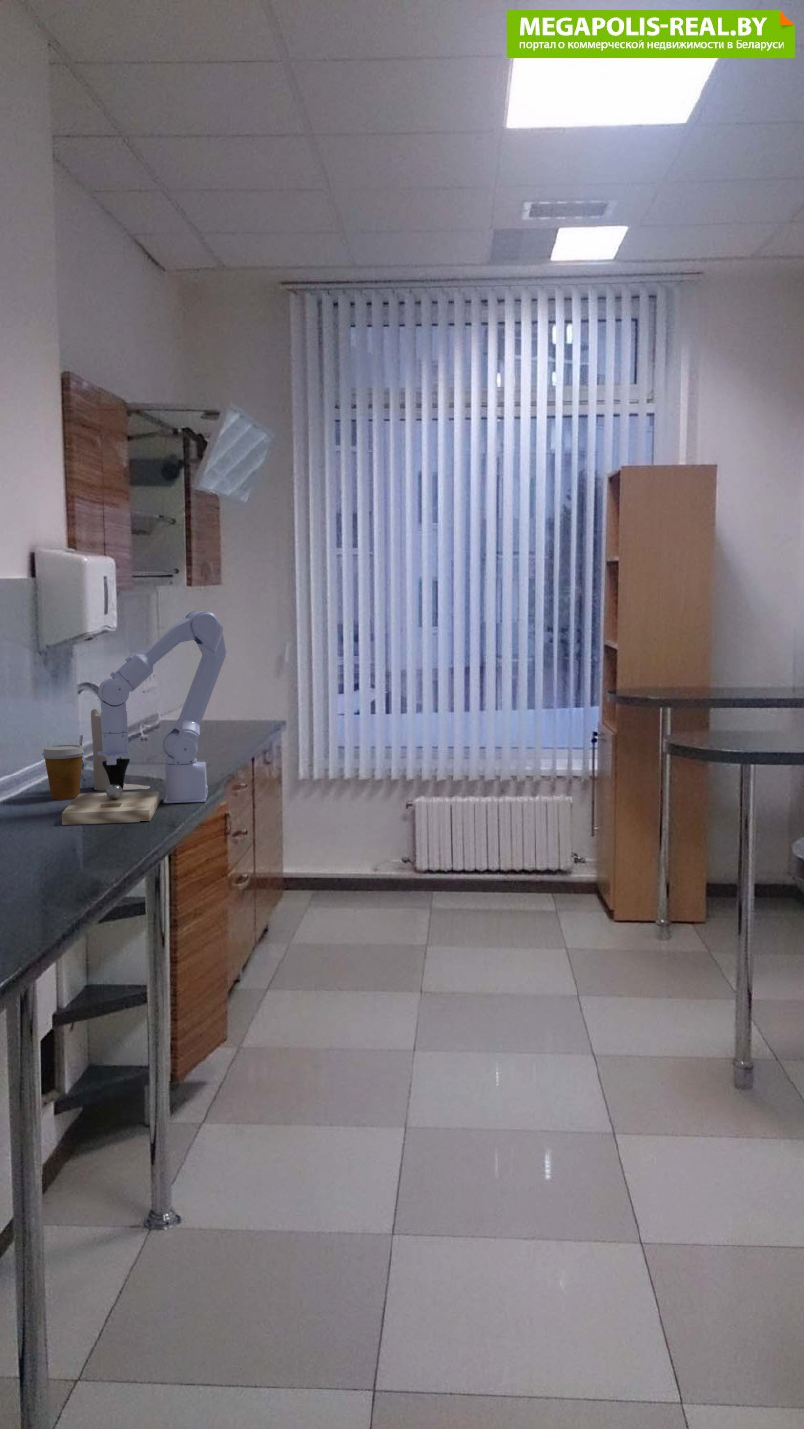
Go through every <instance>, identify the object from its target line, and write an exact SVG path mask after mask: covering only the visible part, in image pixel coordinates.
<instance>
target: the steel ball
mask: <svg viewBox="0 0 804 1429" xmlns="http://www.w3.org/2000/svg"><path fill="white" fill-rule="evenodd" d="M122 792H123V790H122V788H121V787H120V786H119V785H118V784H111V785H109V786H108V787H107V789H106V791H105V793H106V794H107V796H108V797H109V798H110V799H113V800H115V799H118V798H120V797H121V795H122Z"/></svg>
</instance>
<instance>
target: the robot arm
mask: <svg viewBox="0 0 804 1429" xmlns="http://www.w3.org/2000/svg"><path fill="white" fill-rule="evenodd" d="M190 641H194V642H196V645H197V647H198V649H199V650H200V652H201V655H202V656H201V657H200V661H199V663H198V666H197V669H196V672H195V675H194V677H193V679H192V682H191V685H190V687H189V690H188V693H187V695H186V698H185V701H184V704H183V706H182V709H181V712H180V713H179V714H180V715H179V717H178V718H177V720H176V721H175V722H174V724H173V726H172V729H171V730H170V732H169V733H167V734H166V735H165V736H164V739H163V741H162V748H163V749H162V750H163V751H164V753H165V754H166V755H167V757H166V758H165V760H164V765H165V766H164V767H165V768H164V769H165V770H164V771H165V792H166V794H165V795H166V796H165V798H164V799H163V804H175V803H176V804H178V803H179V804H180V803H181V804H182V803H204V802H205V803H206V801H207V798H208V793H209V789H208V788H209V786H208V784H207V782H208V780H207V764H206V763H207V762H205V761H198V759H197V758H196V757H197V755H198V753H199V739H200V735H201V723H202V721H203V718H204V716H205V713H206V710H207V708H208V704H209V702H210V699H211V696H212V693H213V692H214V688H215V685H216V683H217V681H218V678H219V675H220V672H221V670H222V667H223V664H224V662H225V658H226V656H227V650H226V643H225V637H224V626H223V624H222V623H221V621H220V620H219V618H218V616H217V615H216V614H215V613H213V612H211V611H205V610H204V611H201V610H192V611H190V612H188V613H187V614H186V616H185V617H183V618H181V619H179V620H178V621H177V622H176V623H174V624H173V625H172V626H171V627H170V628H169V629H168V630H167V631H166V632H165V633H164V634H163V635H162V636H161V637H160V638H159V639H158V640H157V641H155V643H153V644H152V645H151V647H150V648H149V649H147V651H145V652H144V653H143V654H134V655H133V656H130V655H129V656H127V657H126V658H125V663H124V664H123V665H121V667H119V669H117V670H116V671H115V672H114V671H112V672H111V673H109V676H110V678H107V679H104V680H102V682H101V683H100V684H99V686H98V688H97V689H98V690H97V692H96V693H97V697H98V698H99V700H100V710H101V711H100V713H101V730H102V751H99V752H97V755H102V756H103V757H105V758H106V761H103V762H102V765H103V767H104V769H105V770H106V772H107V775H108V778H109V782H110V785H111V784H118V785H119V786H120V787H121V788H122V791H124V790H123V786H124V783H125V777H126V772H127V769H128V766H129V764H130V758H124V757H127V756H130V754H131V753H130V752H131V750H130V749H129V731H128V729H129V728H128V713H127V712H128V711H127V704H126V703H127V701H128V699H129V696H130V693H131V692H132V693H133V692H134V691H135V690H136V689H137V688H138V687H139V686H140V685H141V684H143V683H144V682H145V681H146V680H147V679H148V678H150V676H151V675H152V674H153V673H154V665H155V664H156V663H157V662H159V661H160V660H161V659H163V657H166V655H167V654H168V653H169V652H171V651H172V650H173V649H174V648H176V647H177V646H178V645H179V644H180V643H186V642H190ZM121 757H123V759H122V758H121Z"/></svg>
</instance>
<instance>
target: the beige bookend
mask: <svg viewBox="0 0 804 1429" xmlns="http://www.w3.org/2000/svg"><path fill="white" fill-rule="evenodd" d="M90 722H91V723H90V728H91V739H92V758H93V760H92V762H93V764H92V765H93V766H92V769H93V770H92V771H93V785H94V786H93V788H94V790H95V791H100V792H101V791H105V792H106V789H107V787H108V786H109V785H110V782H109V778H108V775H107V772H106V770H105V769H104V767H103V765H102V762H103V761H106V758H105V757H103V756H102V755H97V752H99V751H102V730H101V712H100V711H99V709H98V708H93V709H91V711H90ZM121 758H122V759H124V757H121ZM150 788H151V786H150V785H142V784H134V783H133V784H132V783H125V782H124V786H123V790H122V791H136V790H137V791H139V790H149V789H150Z"/></svg>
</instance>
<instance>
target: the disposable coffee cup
mask: <svg viewBox="0 0 804 1429" xmlns="http://www.w3.org/2000/svg"><path fill="white" fill-rule="evenodd" d="M84 753H85V750H84V749H83V745H80V744H57V745H55V744H54V745H50V746H45V747H44V748H43V752H42V753H41V755H42V756H43V758H44V760H45V761H44V762H45V769H46V772H47V779H48V784H49V790H50V795H51V799H53V800H57V801H63V800H66V801H67V800H74V799H75V798H76V797H77V796H78V795H79V794H81V793H80V792H81V779H82V778H81V777H82V767H83V756H84Z"/></svg>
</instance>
